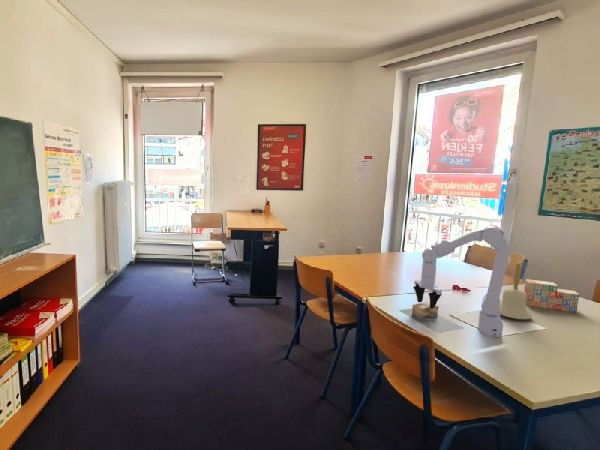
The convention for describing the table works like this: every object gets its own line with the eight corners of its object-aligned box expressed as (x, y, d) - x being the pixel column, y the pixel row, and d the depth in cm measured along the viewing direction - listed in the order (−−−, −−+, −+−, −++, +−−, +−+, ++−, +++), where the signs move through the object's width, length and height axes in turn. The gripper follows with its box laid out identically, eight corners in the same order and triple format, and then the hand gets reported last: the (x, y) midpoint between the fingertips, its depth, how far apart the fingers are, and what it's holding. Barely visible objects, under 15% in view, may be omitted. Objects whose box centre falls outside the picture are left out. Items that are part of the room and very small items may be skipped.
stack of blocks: (572, 308, 172) (576, 285, 171) (576, 313, 167) (580, 288, 165) (522, 301, 181) (525, 278, 179) (525, 305, 175) (528, 281, 173)
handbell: (521, 325, 150) (529, 269, 146) (486, 313, 162) (493, 261, 159) (537, 318, 158) (545, 265, 155) (503, 307, 171) (509, 258, 167)
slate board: (463, 330, 142) (463, 327, 142) (437, 335, 137) (438, 332, 137) (422, 309, 164) (422, 306, 164) (398, 312, 159) (398, 310, 158)
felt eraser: (429, 312, 157) (430, 302, 156) (437, 316, 153) (438, 305, 152) (411, 315, 153) (412, 304, 153) (419, 319, 149) (420, 308, 148)
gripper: (409, 271, 155) (407, 300, 157) (433, 280, 142) (430, 312, 144) (422, 270, 158) (419, 298, 160) (446, 279, 145) (443, 310, 147)
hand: (425, 304), depth 152 cm, fingers open, 7 cm apart
